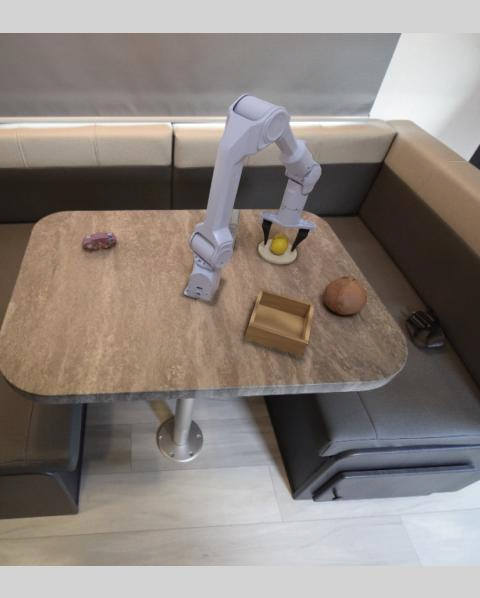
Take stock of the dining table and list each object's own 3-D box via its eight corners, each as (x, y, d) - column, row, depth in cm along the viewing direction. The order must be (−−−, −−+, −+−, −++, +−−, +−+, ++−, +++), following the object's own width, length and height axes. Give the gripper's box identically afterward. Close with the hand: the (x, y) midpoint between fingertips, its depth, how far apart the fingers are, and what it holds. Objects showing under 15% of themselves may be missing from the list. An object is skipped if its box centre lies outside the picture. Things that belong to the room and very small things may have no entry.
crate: (300, 358, 77) (308, 343, 73) (243, 339, 80) (248, 324, 76) (307, 318, 85) (314, 303, 81) (255, 303, 88) (260, 288, 84)
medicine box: (233, 249, 103) (238, 224, 97) (218, 247, 103) (222, 222, 97) (234, 234, 108) (240, 209, 102) (220, 232, 109) (224, 207, 103)
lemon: (283, 259, 99) (288, 246, 96) (267, 254, 100) (271, 241, 97) (287, 245, 104) (292, 232, 101) (271, 241, 105) (276, 228, 102)
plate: (293, 268, 98) (294, 266, 97) (254, 258, 101) (254, 256, 100) (298, 246, 105) (299, 244, 104) (262, 237, 108) (262, 235, 107)
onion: (327, 305, 92) (337, 268, 89) (366, 317, 86) (378, 278, 83) (312, 312, 86) (323, 273, 82) (353, 326, 80) (366, 283, 76)
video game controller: (84, 255, 102) (82, 244, 95) (81, 241, 103) (79, 230, 97) (117, 250, 104) (118, 239, 97) (114, 237, 105) (115, 225, 99)
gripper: (322, 203, 92) (306, 245, 102) (267, 191, 96) (256, 232, 106) (320, 216, 88) (303, 259, 97) (262, 203, 91) (251, 245, 101)
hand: (278, 246), depth 101 cm, fingers open, 7 cm apart
